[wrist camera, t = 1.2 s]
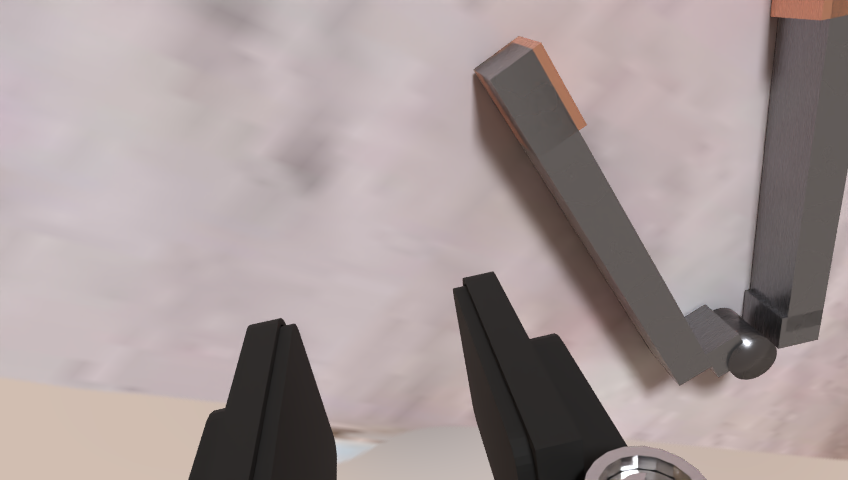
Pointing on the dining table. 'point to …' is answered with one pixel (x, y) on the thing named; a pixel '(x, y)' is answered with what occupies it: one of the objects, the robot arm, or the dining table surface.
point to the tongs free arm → (612, 222)
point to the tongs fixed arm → (801, 171)
